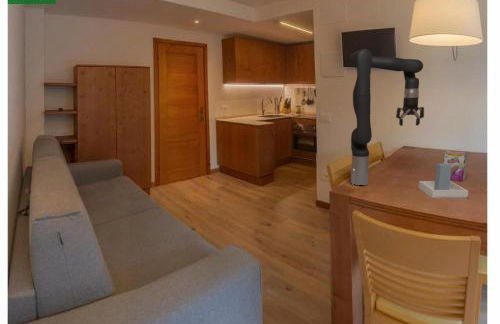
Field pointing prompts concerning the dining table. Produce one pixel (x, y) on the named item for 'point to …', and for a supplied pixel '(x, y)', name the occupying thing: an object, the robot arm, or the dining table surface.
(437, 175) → the slate block
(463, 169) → the candy bar box
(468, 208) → the dining table surface
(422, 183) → the tray
